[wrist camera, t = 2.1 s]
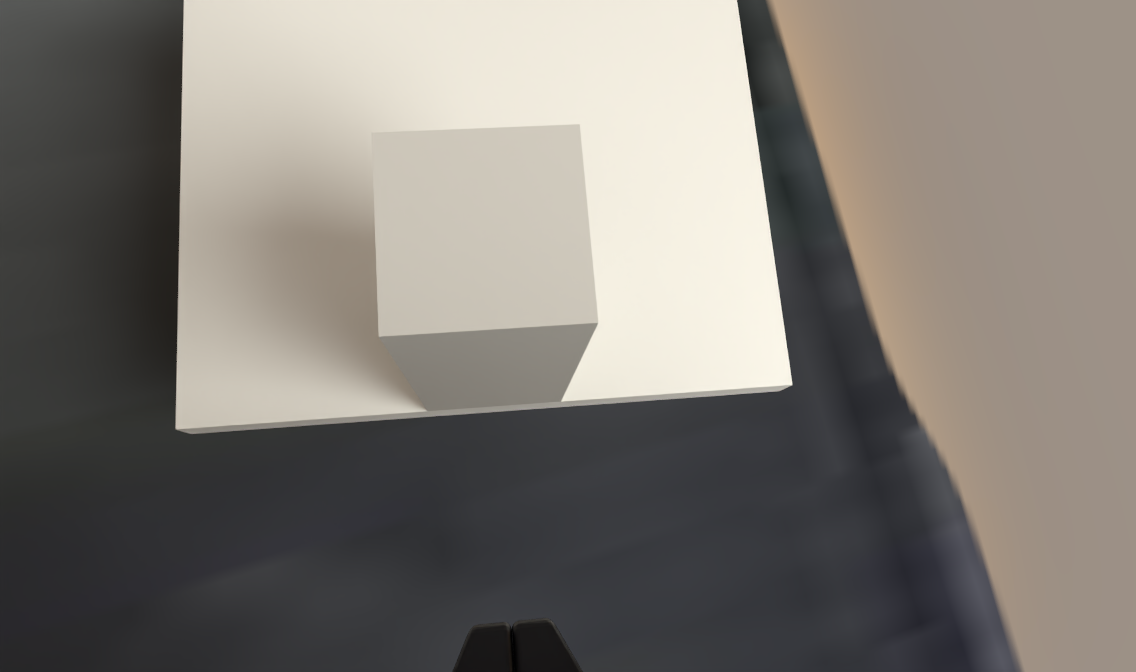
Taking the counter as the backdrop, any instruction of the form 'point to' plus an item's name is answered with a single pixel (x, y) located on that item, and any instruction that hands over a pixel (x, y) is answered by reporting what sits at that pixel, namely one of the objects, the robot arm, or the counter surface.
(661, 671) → the counter surface
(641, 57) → the lid
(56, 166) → the counter surface
